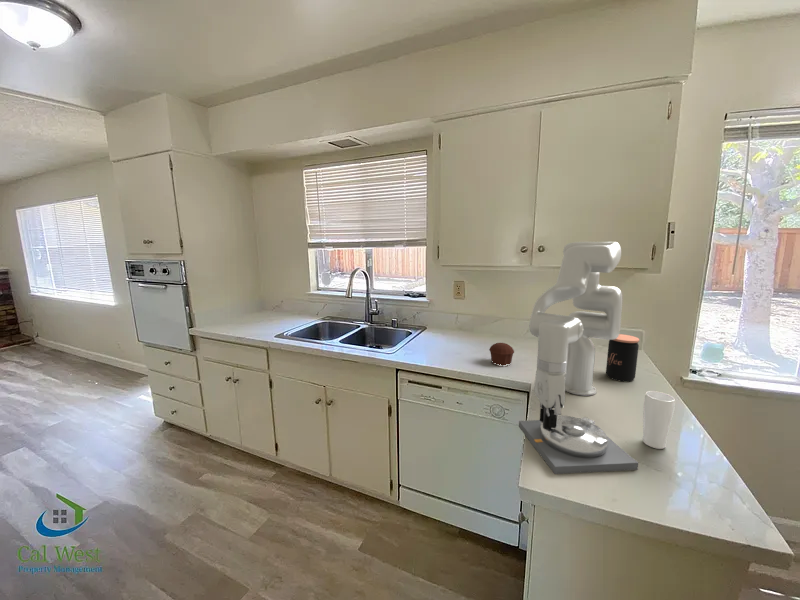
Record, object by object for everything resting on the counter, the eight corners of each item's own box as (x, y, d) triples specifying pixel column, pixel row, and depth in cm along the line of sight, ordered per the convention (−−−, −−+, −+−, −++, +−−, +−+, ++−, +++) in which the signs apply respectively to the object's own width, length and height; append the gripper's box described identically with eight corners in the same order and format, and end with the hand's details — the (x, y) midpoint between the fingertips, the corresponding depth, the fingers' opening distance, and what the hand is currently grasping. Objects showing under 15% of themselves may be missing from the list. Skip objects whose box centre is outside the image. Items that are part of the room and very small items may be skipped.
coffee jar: (600, 372, 149) (604, 333, 146) (625, 372, 148) (630, 334, 145) (613, 381, 138) (617, 340, 135) (640, 382, 137) (645, 341, 134)
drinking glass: (655, 437, 99) (661, 390, 96) (675, 451, 92) (682, 401, 89) (633, 437, 98) (639, 390, 96) (651, 451, 92) (658, 401, 89)
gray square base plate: (518, 426, 105) (519, 420, 105) (585, 423, 106) (585, 417, 106) (554, 473, 83) (555, 466, 83) (637, 469, 85) (638, 461, 84)
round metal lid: (546, 452, 88) (548, 419, 87) (535, 420, 105) (537, 392, 103) (617, 461, 84) (621, 427, 83) (595, 426, 101) (597, 397, 99)
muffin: (516, 362, 162) (517, 342, 161) (510, 369, 153) (511, 348, 152) (492, 357, 169) (493, 339, 167) (485, 364, 160) (486, 344, 158)
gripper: (527, 354, 100) (525, 410, 103) (550, 376, 84) (546, 441, 88) (552, 354, 100) (549, 409, 103) (579, 376, 84) (574, 441, 87)
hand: (547, 423), depth 95 cm, fingers open, 2 cm apart
